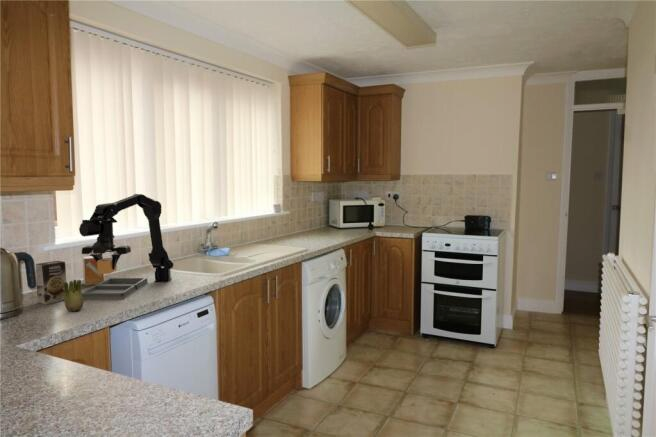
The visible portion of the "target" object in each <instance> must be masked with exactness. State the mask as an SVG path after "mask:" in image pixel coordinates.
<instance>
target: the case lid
mask: <svg viewBox="0 0 656 437" xmlns="http://www.w3.org/2000/svg"><path fill="white" fill-rule="evenodd" d="M136 291H137V290H136V285H97V286H96V285H92V286H91V287H89V288H87V289H86V290H84V291H81V293H82V297H83V300H124V299H125V298H127V297H129V296H130V295H131V294H133V293H134V292H136Z"/></svg>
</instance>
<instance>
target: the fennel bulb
mask: <svg viewBox="0 0 656 437" xmlns="http://www.w3.org/2000/svg"><path fill="white" fill-rule="evenodd" d="M81 288H82V280H81V279H73V280H70V281H69V282H68V281H66V282H64V289H65V300H64V305H65V309H66V311H67V312H79V311H81V309H82V308H83V306H84V299H83V297H82V293H81V292H82V289H81Z"/></svg>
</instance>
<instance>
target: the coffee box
mask: <svg viewBox="0 0 656 437" xmlns="http://www.w3.org/2000/svg"><path fill="white" fill-rule="evenodd" d="M66 271H67V270H66V262H65V261H60V260H55V261H53V260H52V261H48V262H41V263H35V275H36V276H35V278H36V280H35V281H36V298H37V299H36V300H37V303H39V304H42V305H48V304H49V305H50V304H53V303H57V302H61V301H65V289H64V282H67V272H66Z"/></svg>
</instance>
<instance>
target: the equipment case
mask: <svg viewBox="0 0 656 437" xmlns="http://www.w3.org/2000/svg"><path fill="white" fill-rule="evenodd" d="M148 283H149V282H148V277H108V278H106V279H105V280H104V281H103V282H101V283H99V284H97V285H136V291H138V290H140V289H141V288H142V287H143V286H145V285H147V284H148ZM97 285H95V286H97Z"/></svg>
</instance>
